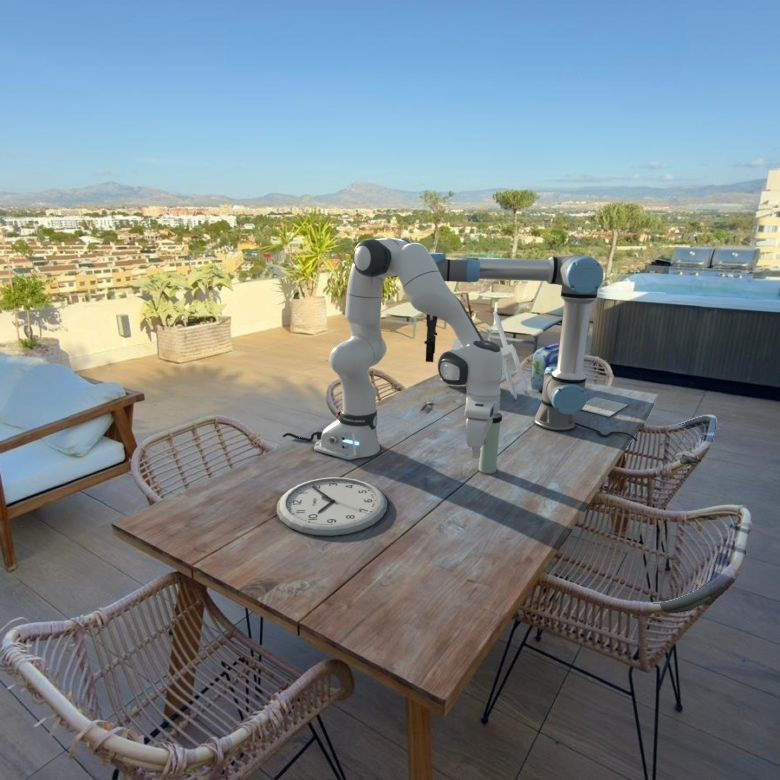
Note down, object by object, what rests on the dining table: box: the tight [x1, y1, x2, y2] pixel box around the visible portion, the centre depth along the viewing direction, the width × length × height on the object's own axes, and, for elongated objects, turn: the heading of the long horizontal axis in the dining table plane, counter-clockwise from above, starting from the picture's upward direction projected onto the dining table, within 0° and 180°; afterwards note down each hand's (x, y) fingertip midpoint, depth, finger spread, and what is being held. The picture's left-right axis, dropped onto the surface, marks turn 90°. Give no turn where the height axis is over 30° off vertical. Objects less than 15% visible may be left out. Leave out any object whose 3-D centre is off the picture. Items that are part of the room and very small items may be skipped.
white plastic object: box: [440, 310, 531, 400], centre depth 245 cm, size 37×45×31 cm
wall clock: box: [276, 476, 388, 537], centre depth 142 cm, size 30×2×30 cm
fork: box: [420, 396, 435, 411], centre depth 223 cm, size 3×16×2 cm, turn 160°
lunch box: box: [530, 343, 560, 391], centre depth 249 cm, size 26×11×21 cm, turn 134°
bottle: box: [478, 422, 501, 475], centre depth 163 cm, size 5×5×18 cm
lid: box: [492, 411, 503, 423], centre depth 160 cm, size 6×6×2 cm
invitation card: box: [580, 396, 629, 418], centre depth 226 cm, size 21×1×15 cm
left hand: (479, 450), depth 142 cm, fingers open, 8 cm apart
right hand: (430, 357), depth 190 cm, fingers open, 13 cm apart
